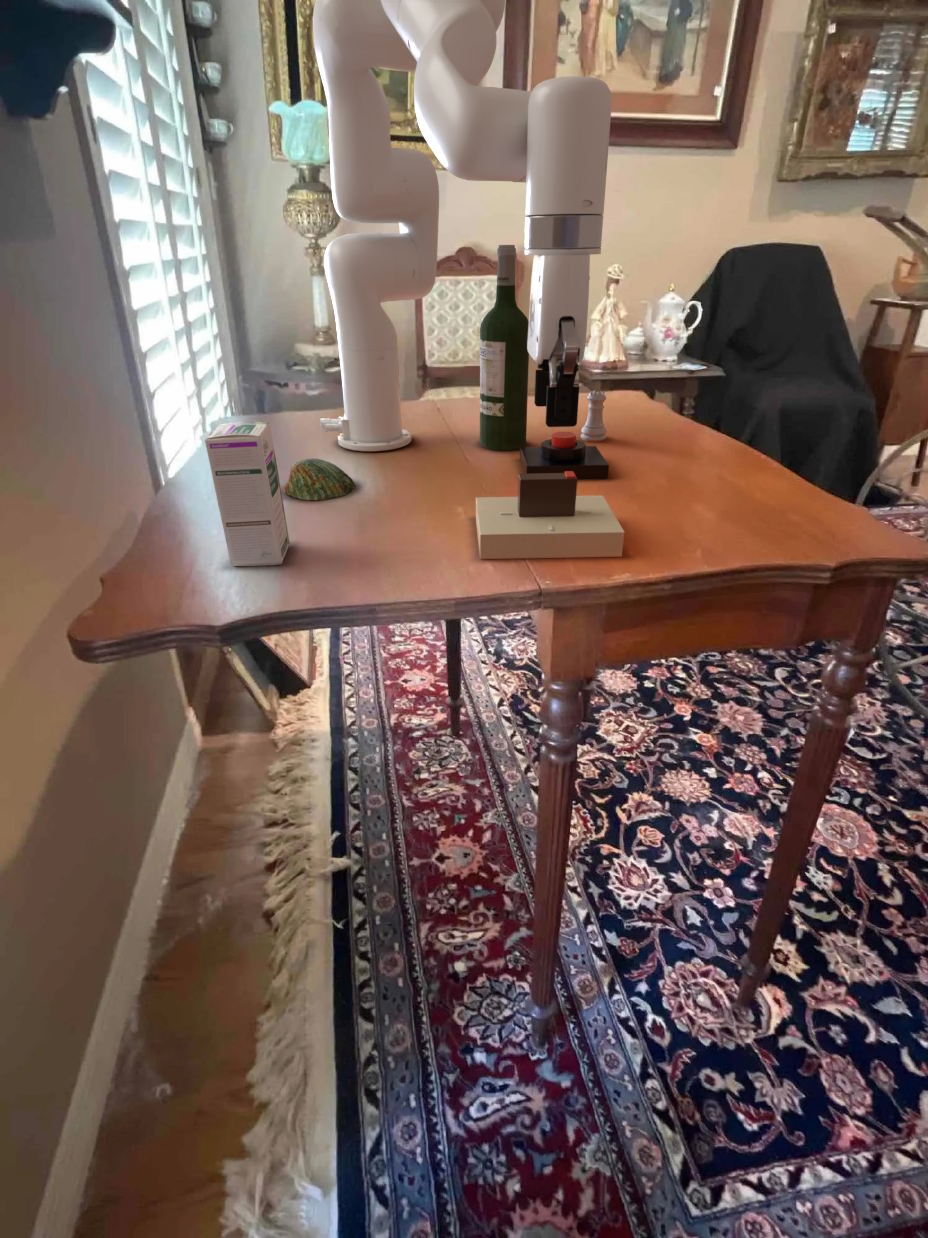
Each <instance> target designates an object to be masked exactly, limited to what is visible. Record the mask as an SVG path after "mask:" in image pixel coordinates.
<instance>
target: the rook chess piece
mask: <svg viewBox="0 0 928 1238" xmlns="http://www.w3.org/2000/svg"><path fill="white" fill-rule="evenodd" d="M605 392H606V391H602V390H598V391H597V390H594V389H593V390H590V391H589V394H588V396H586V399H587V401H588V403H589V404H588V405H587V409H588V412H587V417H586V421H585V423H584V425H583V427H582V428H581V430H580V431H581V434H580V438H581V439H582V441H584V442H591V443H598V442H603V441H604V440H606V438H607V436H606V435H605V434H606V433H607V429H606V427H605V424H604V417H603V412H604V408H605V406H604V402H605V401H606V399H607V396H606V395H605Z"/></svg>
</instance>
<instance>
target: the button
mask: <svg viewBox="0 0 928 1238" xmlns="http://www.w3.org/2000/svg"><path fill="white" fill-rule="evenodd" d="M551 439H552V444H551V446H554V447H559V448H571V447H576V440H577V434H576V433H574V432H570V431H556V432H553V433H552V434H551Z"/></svg>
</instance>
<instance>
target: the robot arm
mask: <svg viewBox="0 0 928 1238" xmlns="http://www.w3.org/2000/svg"><path fill="white" fill-rule="evenodd" d="M314 1H315V2H314V5H313V11H312V12H313V13H312V37H313V47H314V53H315V58H316V62H317V63H316V64H317V66H318V70H319V74H320V78H321V82H322V85H323V89H324V94H325V99H326V104H327V116H328V118H327V119H328V142H329V164H330V165H329V166H330V167H329V168H330V185H331V195H332V201H333V206H334V209H335V211H336V213H337V215H338V216H339V217H340V218H342V219H343V220H345V221H347V222H349V223H350V222H351V223H358V224H399V232H355V233H346V234H343V235H340V236H338V237H336V238H334V239H333V240H331V241H330V242H329V244H328V245H327V247H326V249H325V252H324V256H323V257H324V260H323V262H324V271H325V277H326V280H327V281H326V282H327V284H328V289H329V293H330V297H331V301H332V306H333V311H334V318H335V327H336V334H337V335H336V336H337V345H338V354H339V365H340V375H341V387H342V398H343V409H344V410H343V411H344V413H343V416H338V417H337V418H320V419H319V426H320V427H319V428H320V430H321V431H324V432H325V433H334V432H335V433H336V432H337V433H339V435H338V436H337V443H338V445H339V446H340V447H341V448H344V449H346V450H350V451H357V452H383V451H384V452H385V451H391V450H396V449H400V448H402V447H406V446H407V445H409V444H410V443H411V442H412V433H411V432H410V431H408V430H407V429H404V428H403V426H402V425H403V424H402V407H401V406H402V405H401V388H400V385H401V384H400V367H399V365H400V364H399V349H398V347H399V346H398V335H397V330H396V326H395V325H394V323H393V321H392V320H391V318H390V317H389V315H388V314H387V313H386V311H385V310H384V308H383V306H382V305H381V303H386V302H397V301H398V302H400V301H411V300H421V299H423V298H425V297H427V296H428V295H429V294H430V293H431V292H432V291H433V289H434V286H435V282H436V278H437V267H438V249H439V248H438V246H439V245H438V244H439V218H440V186H439V179H438V175H437V171H436V167H435V166H434V163H433V161H432V160H431V158H430V157H429V156H428V155H427V154H426V153H425V152H423V151H421V150H419V149H415V148H407V147H406V148H405V147H392V141H391V108H390V105H389V101H388V99H387V96H386V94H385V92H384V89H383V87H382V85H381V84H380V81H379V80H378V78H377V76H376V75H375V73H374V72H373V70H372V69H371V68H375V69H383V70H390V71H399V72H408V73H414V77H413V78H414V79H413V103H414V111H415V116H416V117H415V118H416V121H417V125H418V128H419V130H420V132H421V135H422V136H423V139H424V140H425V141H426V143H427V144H428V146H429V148H430V149H431V151H432V153H433V154H434V156H435V157H436V158H437V160H438V162H439V163H440V165H442V166H443V168H445V169H446V170H447V171H448V172H449V173H450V174H451V175H453V176H455V177H456V178H458V179H462V180H465V181H471V182H472V181H473V182H512V183H525V209H524V211H525V212H524V216H525V217H524V247H523V248H524V249H523V250H524V251H523V252H524V256H533V260H532V267H531V276H530V277H531V278H530V293H529V307H528V309H529V310H528V321H529V326H528V341H527V350H528V353H529V357H531V358H532V360H533V361H534V362H535V363H536V369H535V374H534V375H535V377H534V402H533V403H534V405H535V406H536V407H537V408H539V407H545V425H546V427H548V428H569V427H570V428H571V427H576V426H577V425H578V415H579V397H580V372H579V370H580V369H579V366H580V365H579V363H580V362H581V361H583V359H584V356H585V351H586V342H587V331H588V330H587V329H588V317H589V316H588V315H589V297H590V296H589V295H590V281H591V276H590V267H591V265H590V264H591V255H592V256H593V255H600V254H601V253H602V241H603V240H602V239H603V226H604V225H603V224H604V214H605V200H606V187H607V175H608V173H607V172H608V161H609V160H608V159H609V147H610V146H609V145H610V133H611V131H610V130H611V117H612V105H613V104H612V102H613V101H612V99H613V98H612V93H611V89H610V87H609V85H608V84H607V83H606V82H605V81H604V80H602V79H600V78H597V77H593V76H582V75H581V76H579V75H577V76H576V75H570V76H569V75H568V76H559V77H554V78H549V79H545V80H543V81H540V82H539V83H537V84H536V86H534V87H533V89H532V91H530V90H523V89H515V88H507V87H506V88H504V87H496V86H495V87H494V86H482V85H479V84H480V83H481V81H483V79H484V78H485V76H486V75H487V74H488V72H489V70H490V69H491V66H492V64H493V61H494V58H495V54H496V50H497V31H498V29H500V28H499V27H500V25H501V23H502V20H503V17H504V12H505V8H506V0H314Z"/></svg>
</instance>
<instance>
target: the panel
mask: <svg viewBox="0 0 928 1238" xmlns="http://www.w3.org/2000/svg"><path fill="white" fill-rule="evenodd" d="M517 508H518V496H480V497H479V496H478V497H475V523H476V524H475V525H476V533H477V542H478V551H479V552H478V553H479V559H480V560H500V559H501V560H502V559H503V560H505V559H506V560H508V559H514V560H515V559H561V558H566V559H567V558H568V559H569V558H570V559H571V558H614V557H616V558H618V557H623V550H624V540H625V530H624V529H623V527H622V525H621V523H620V522H619V520H618V519H617V516H616V515H615V513H614V512H613V510H612V508H611V507H610V505H609V503H608V501H607V500H606V498H605V497H604V495H601V494H600V495H598V494H597V495H576V504H575V515H574V516H534V517H519V514H518V510H517Z"/></svg>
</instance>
